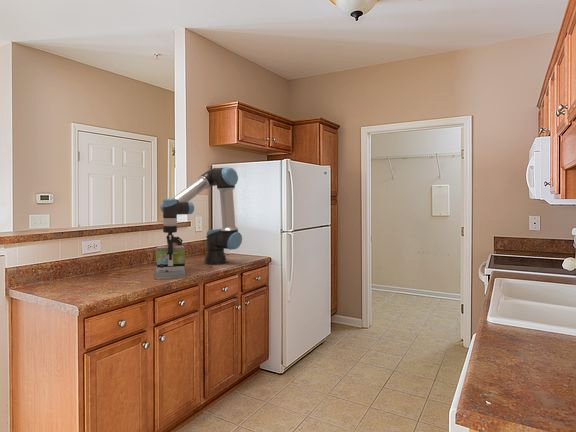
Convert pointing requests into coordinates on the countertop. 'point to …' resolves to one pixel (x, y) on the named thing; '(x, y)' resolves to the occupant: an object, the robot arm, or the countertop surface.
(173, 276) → the grey flat slab
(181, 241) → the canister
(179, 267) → the tea box
